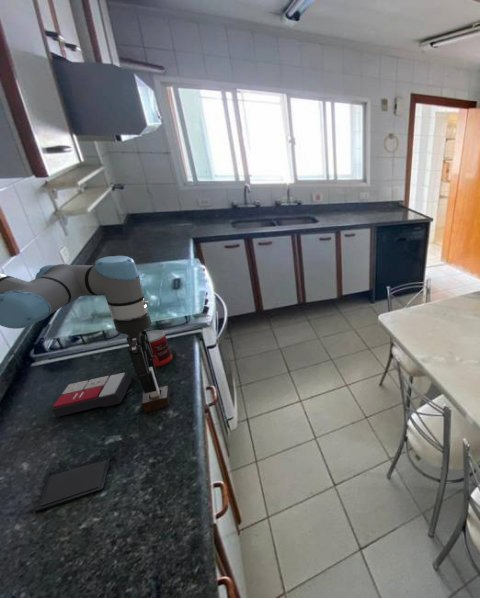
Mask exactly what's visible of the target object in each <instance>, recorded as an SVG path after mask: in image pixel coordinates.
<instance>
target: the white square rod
mask: <svg viewBox="0 0 480 598" xmlns="http://www.w3.org/2000/svg"><path fill="white" fill-rule="evenodd" d="M149 370H150V371H151V372H152V376H153V379H154V383H155V386H156V391H154V392H149V393H150V396H151V398H153V397H158V396H161V395H160V391H159V385H158V382H157V379H156V378H155V375H154V371H153V368H152V367H149Z"/></svg>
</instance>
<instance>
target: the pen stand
mask: <svg viewBox="0 0 480 598" xmlns="http://www.w3.org/2000/svg"><path fill="white" fill-rule="evenodd" d="M158 388H159V391H160V395H161V396H158V397H153V398H151V396H150V393H145V394H144V392H143V393H142V399H141V407H142V410H143V412H144V414H146V413H150V412H153V411H157V410H160V409H163V408H164V409H165V408H167V407H170V400H171V392H170V387H169V385H164V386H160V387H159V386H158Z"/></svg>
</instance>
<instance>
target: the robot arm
mask: <svg viewBox="0 0 480 598" xmlns="http://www.w3.org/2000/svg"><path fill="white" fill-rule="evenodd" d="M143 291H144V290H143V287H142V283H141V278H140V272H139V270H138V268H137V265H136V262H135V260H134V259H133V258H132V257H130V256H127V255H114V256H113V255H111V256H110V255H109V256H104V257H101V258H99V259H97V260H96V261H95V262H94V265H91V264H89V265H88V264H87V265H86V264H67V263H60V264H48V265H45V266H42V267H41V268H39V271H38V272H36V274H35V277H34V279H33V280H30V281H29V280H28V281H26V280H24V279H21V278H18V277H14V276H11V275H9V274H5V273H3V272H0V326H1V327H4V328H7V329H13V330H16V329H24V328H29V327H30V326H32V325H34V324H37V323H39V322H41V321H44V320H45V319H46V318H48V317H49V316H51V315H52V314H53V313H55V312H57V311H58V310H60V309H61V308H64V307H65V306H67V305H68V304H71V303H72V302H74V301H76V300H77V299H78V298H80V297H88V296H89V297H91V296H92V297H97V296H104V297H105V300H106V302H107V307H108V309H109V313H110V316H111V318H112V321H113V325H114V328H115V330H116V332H117V333H118V334H122V335H126V336H127V337H126V343H127V344H128V347H127V351H128V353H129V355H130V356H129V357H130V359H131V362H132V365H133V366H132V367H133V369H134V372H135V374H134V377H135V378H137V379H139V380H140V384H141V387H142V390H143V393H144V394H145V393H149V392H154V391H156V386H155V383H154V379H153V376H152V372H151V371H150V370H149V367H152V368H153V371H154V375H155V378H156V380H158V379H159V376H158V372H157V369H156V368H157V367H156V368H155V365H154V361H153V360H151V359H154V358H156V356H155V355H152V354H153V351H152V348H151V345H150V341H149V338H148V334H147V332H148V329H150V327H151V326H152V319H151V316H150V313H149V312H148V305H149V304H150V302H149V301H148V300H146V298H145V295H144V292H143Z"/></svg>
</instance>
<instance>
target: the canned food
mask: <svg viewBox="0 0 480 598" xmlns="http://www.w3.org/2000/svg"><path fill="white" fill-rule="evenodd" d="M147 334H148V338H149V341H150V345H151V348H152V351H153V354H152V355H155V356H156V358H154V359H151V360H153V361H154V365H155V368H160V367H164V366H166V365H168V364H169V363H171V362H172V361H173V354H172V350H171V348H170V345H169V342H168V338H167V336H166V333H165V332H164V330H161V329H153V330H147Z"/></svg>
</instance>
